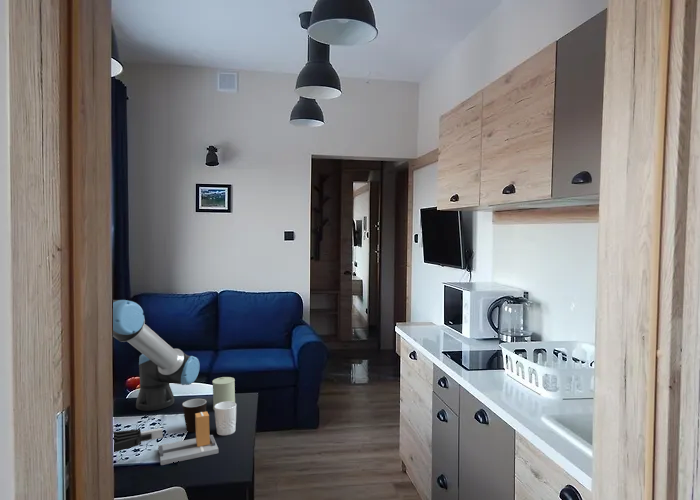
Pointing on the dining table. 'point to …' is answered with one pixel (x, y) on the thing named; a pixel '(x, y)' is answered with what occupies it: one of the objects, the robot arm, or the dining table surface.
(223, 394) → the can
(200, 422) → the fader tab
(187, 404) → the coffee mug
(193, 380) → the robot arm
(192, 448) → the rail
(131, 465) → the dining table surface
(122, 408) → the dining table surface
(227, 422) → the white cup
